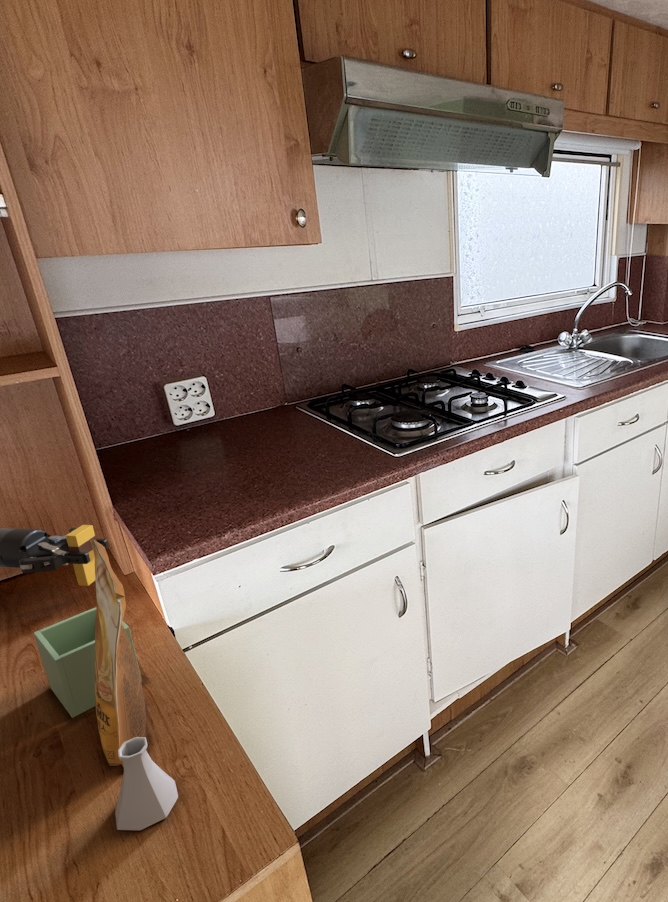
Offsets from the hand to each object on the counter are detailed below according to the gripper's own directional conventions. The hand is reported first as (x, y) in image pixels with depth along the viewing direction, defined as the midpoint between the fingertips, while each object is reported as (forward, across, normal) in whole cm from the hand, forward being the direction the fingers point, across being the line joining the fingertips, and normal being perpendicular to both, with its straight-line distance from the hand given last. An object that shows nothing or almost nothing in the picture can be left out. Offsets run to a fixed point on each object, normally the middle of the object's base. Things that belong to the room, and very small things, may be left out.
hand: (97, 551), depth 113 cm
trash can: (+14, +23, -11) cm, 29 cm away
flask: (+36, +43, -11) cm, 57 cm away
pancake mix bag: (+25, +31, -11) cm, 41 cm away
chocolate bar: (-3, 0, -6) cm, 7 cm away
